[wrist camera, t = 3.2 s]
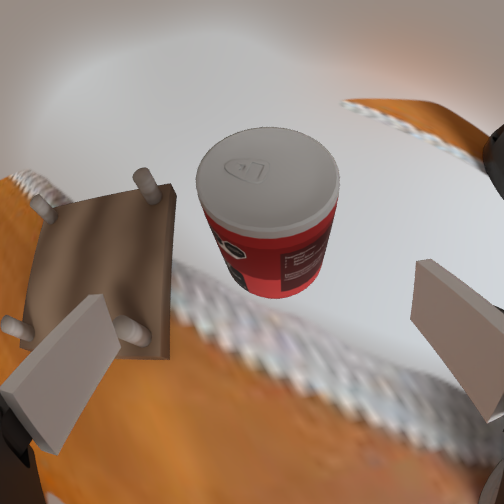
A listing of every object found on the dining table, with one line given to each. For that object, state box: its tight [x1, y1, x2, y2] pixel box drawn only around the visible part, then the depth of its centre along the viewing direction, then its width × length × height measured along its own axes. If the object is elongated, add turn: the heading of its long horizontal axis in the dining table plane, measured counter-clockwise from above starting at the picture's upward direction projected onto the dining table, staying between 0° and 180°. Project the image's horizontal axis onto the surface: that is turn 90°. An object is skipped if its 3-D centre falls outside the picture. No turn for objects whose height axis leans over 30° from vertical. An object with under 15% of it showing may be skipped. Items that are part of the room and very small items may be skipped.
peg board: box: [1, 168, 177, 360], centre depth 24 cm, size 16×16×6 cm
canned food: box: [196, 127, 340, 299], centre depth 21 cm, size 8×8×11 cm
